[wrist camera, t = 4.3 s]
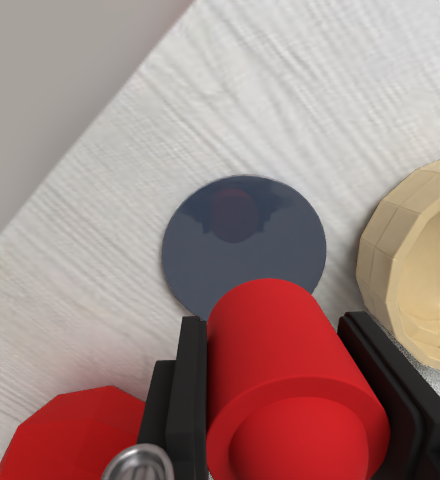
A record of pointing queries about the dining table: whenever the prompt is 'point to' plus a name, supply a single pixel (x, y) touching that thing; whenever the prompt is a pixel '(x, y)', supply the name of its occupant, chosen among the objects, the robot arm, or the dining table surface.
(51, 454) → the apple
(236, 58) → the dining table surface
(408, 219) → the serving bowl
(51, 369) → the dining table surface
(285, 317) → the red cylinder
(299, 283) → the dark grey coaster
